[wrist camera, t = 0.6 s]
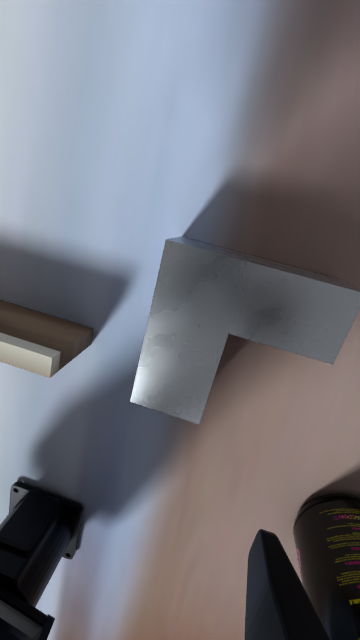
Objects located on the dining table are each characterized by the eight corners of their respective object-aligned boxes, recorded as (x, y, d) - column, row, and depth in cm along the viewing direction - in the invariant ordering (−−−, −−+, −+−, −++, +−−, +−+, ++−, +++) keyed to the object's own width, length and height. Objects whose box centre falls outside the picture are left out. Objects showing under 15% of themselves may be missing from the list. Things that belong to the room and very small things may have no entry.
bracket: (280, 410, 19) (290, 454, 16) (150, 369, 20) (129, 401, 17) (337, 278, 16) (366, 293, 13) (181, 236, 17) (165, 239, 14)
